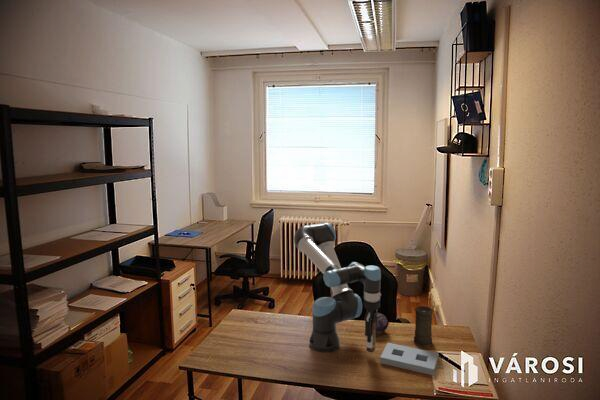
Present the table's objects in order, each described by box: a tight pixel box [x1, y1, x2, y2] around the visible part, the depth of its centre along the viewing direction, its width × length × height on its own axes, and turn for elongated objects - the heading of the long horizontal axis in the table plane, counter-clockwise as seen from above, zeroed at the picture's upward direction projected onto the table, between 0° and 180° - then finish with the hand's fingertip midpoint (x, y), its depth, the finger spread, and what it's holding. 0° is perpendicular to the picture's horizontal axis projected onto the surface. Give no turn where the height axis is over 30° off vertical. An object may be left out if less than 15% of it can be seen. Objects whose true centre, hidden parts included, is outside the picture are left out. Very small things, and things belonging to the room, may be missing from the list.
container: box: [413, 305, 434, 348], centre depth 207 cm, size 9×9×18 cm
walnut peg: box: [366, 322, 376, 353], centre depth 195 cm, size 4×4×14 cm
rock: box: [375, 312, 390, 336], centre depth 221 cm, size 12×9×10 cm
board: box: [379, 342, 439, 376], centre depth 193 cm, size 24×14×3 cm, turn 64°
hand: (370, 344), depth 196 cm, fingers closed on walnut peg, 4 cm apart
